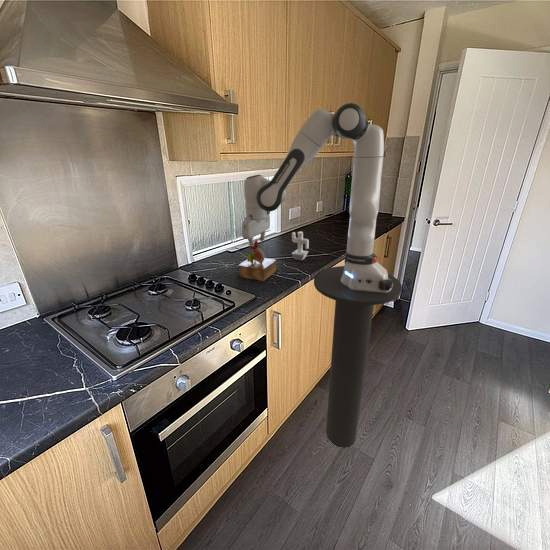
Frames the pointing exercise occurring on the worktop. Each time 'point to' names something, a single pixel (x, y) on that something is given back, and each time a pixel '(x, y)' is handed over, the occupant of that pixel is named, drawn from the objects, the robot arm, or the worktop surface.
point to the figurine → (300, 246)
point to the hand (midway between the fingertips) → (257, 243)
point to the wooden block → (257, 269)
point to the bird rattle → (256, 254)
